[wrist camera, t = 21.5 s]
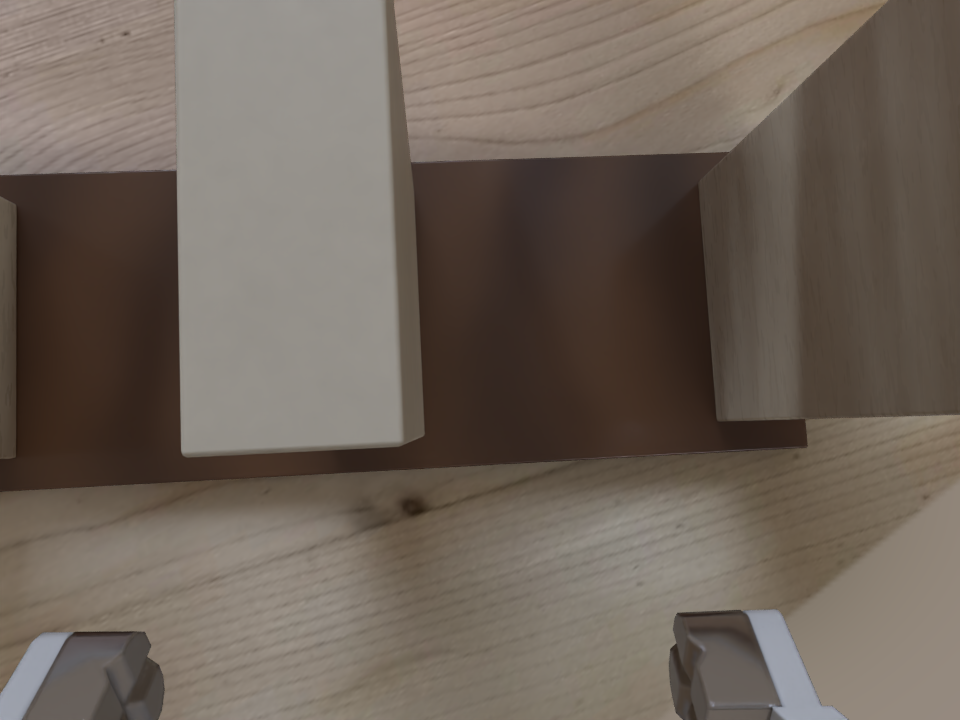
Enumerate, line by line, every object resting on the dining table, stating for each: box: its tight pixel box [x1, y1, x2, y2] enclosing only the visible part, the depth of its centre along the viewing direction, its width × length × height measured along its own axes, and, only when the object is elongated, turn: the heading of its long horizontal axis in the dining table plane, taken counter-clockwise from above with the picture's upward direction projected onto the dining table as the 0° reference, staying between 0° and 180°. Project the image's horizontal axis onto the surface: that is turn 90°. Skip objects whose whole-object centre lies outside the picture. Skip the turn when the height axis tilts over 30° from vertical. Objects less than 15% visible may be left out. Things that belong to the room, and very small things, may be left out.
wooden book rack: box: [0, 0, 960, 492], centre depth 19 cm, size 28×10×14 cm, turn 93°
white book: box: [174, 0, 425, 458], centre depth 18 cm, size 3×8×14 cm, turn 3°
